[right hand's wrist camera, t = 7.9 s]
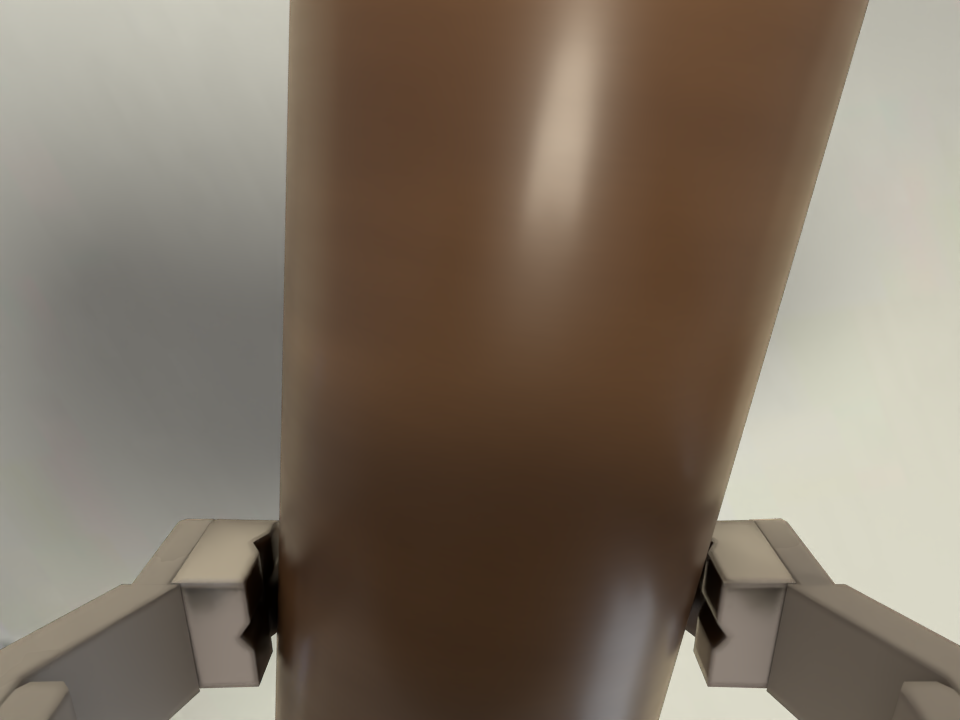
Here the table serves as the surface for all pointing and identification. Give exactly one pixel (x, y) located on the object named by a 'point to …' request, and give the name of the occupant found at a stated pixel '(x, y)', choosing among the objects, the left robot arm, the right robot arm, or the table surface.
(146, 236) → the table surface
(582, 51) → the rod
